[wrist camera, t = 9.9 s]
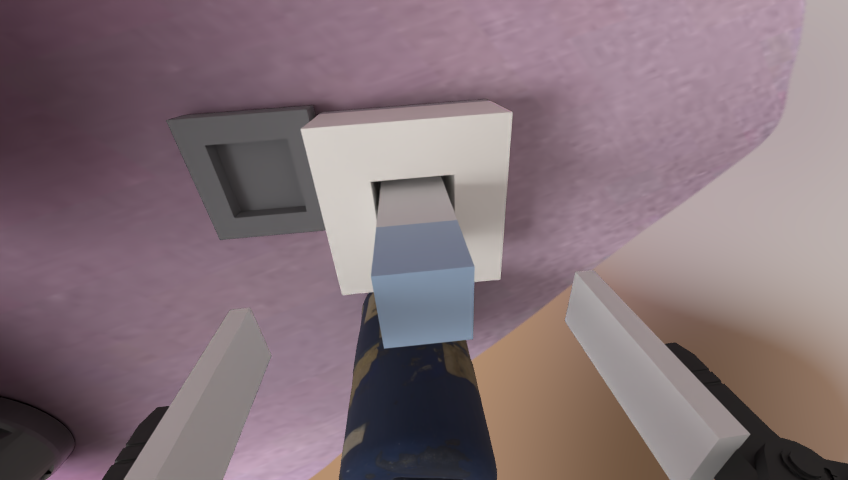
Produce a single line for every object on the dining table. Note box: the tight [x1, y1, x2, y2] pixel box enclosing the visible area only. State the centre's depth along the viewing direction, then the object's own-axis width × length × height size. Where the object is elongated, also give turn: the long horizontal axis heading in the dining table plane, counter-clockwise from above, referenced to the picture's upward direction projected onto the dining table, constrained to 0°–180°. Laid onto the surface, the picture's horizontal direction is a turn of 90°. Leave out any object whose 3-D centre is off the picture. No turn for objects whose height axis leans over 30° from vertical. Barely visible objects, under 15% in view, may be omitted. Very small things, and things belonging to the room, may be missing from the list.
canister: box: [339, 292, 497, 480], centre depth 25 cm, size 10×10×18 cm
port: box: [301, 99, 513, 295], centre depth 24 cm, size 12×12×6 cm
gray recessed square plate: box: [166, 105, 326, 240], centre depth 24 cm, size 9×9×2 cm
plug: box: [371, 176, 475, 349], centre depth 19 cm, size 4×4×14 cm
